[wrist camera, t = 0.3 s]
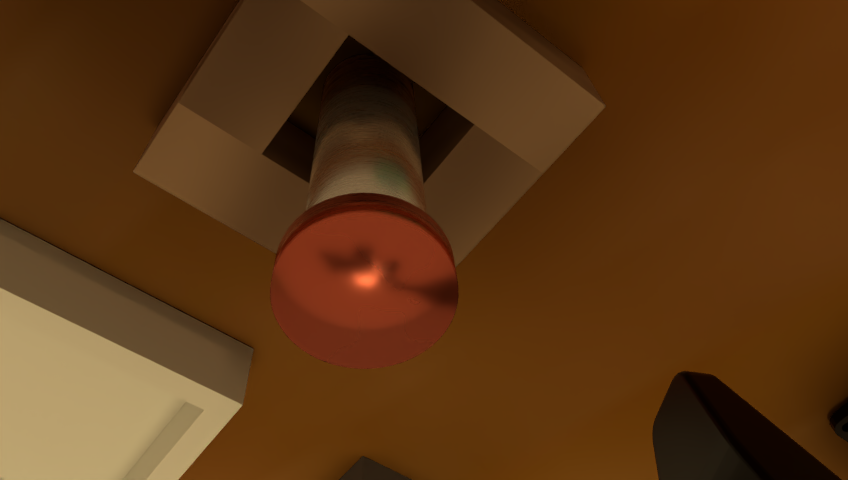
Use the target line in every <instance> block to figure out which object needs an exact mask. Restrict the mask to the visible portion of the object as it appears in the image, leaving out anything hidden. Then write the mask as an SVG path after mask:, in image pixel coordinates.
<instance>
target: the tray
mask: <svg viewBox="0 0 848 480" xmlns="http://www.w3.org/2000/svg"><path fill="white" fill-rule="evenodd" d="M252 355H253V348H251V347H249V346H247V345H245V344H243V343H241V342H239V341H237V340H235V339H233V338H231V337H229V336H227V335H226V334H224V333H222V332H220V331H218V330H216V329H214V328H212V327H210V326H208V325H206V324H204V323H202V322H200V321H198V320H196V319H194V318H192V317H191V316H189V315H187V314H185V313H183V312H181V311H179V310H177V309H175V308H173V307H171V306H169V305H167V304H165V303H163V302H161V301H159V300H158V299H156V298H154V297H152V296H150V295H148V294H146V293H144V292H142V291H140V290H138V289H136V288H134V287H132V286H130V285H128V284H126V283H125V282H123V281H121V280H119V279H117V278H115V277H113V276H111V275H109V274H107V273H105V272H103V271H101V270H99V269H97V268H95V267H93V266H91V265H90V264H88V263H86V262H84V261H82V260H80V259H78V258H76V257H74V256H72V255H70V254H68V253H66V252H64V251H62V250H60V249H58V248H57V247H55V246H53V245H51V244H49V243H47V242H45V241H43V240H41V239H39V238H37V237H35V236H33V235H31V234H29V233H27V232H25V231H24V230H22V229H20V228H18V227H16V226H14V225H12V224H10V223H8V222H6V221H4V220H2V219H0V480H178V479H179V478H180V477H181V476H182V475H183V473H184V472H185V471H186V470H187V469H188V468H189V466H190V465H191V464H192V463H193V462H194V461H195V460H196V458H197V457H198V456H199V455H200V454H201V453H202V451H203V450H204V449H205V448H206V447H207V446H208V444H209V443H210V442H211V441H212V440H213V439H214V438H215V436H216V435H217V434H218V433H219V432H220V431H221V429H222V428H223V427H224V426H225V425H226V424H227V422H228V421H229V420H230V419H231V418H232V417H233V416H234V414H235V413H236V412H237V411H238V410H239V409H240V407H241V406H242V405H243V401H244V396H245V390H246V385H247V380H248V375H249V370H250V365H251V360H252Z"/></svg>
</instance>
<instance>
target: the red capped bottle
mask: <svg viewBox="0 0 848 480" xmlns="http://www.w3.org/2000/svg"><path fill="white" fill-rule="evenodd" d="M270 298H271V305H272V310H273V312H274V315H275V318H276V320H277V322H278V324H279V325H280V327H281V329H282V330H283V331H284V333H285V334H286V335H287V337H288V338H289V339H290V340H291V341H292V342H293V343H294V344H296V345H297V346H298V347H299V348H301V349H302V350H303V351H305V352H307V353H308V354H310V355H311V356H313V357H315V358H318V359H320V360H322V361H325V362H328V363H331V364H334V365H338V366H342V367H349V368H359V369H370V368H381V367H386V366H391V365H395V364H398V363H402V362H404V361H407V360H409V359H411V358H414V357H415V356H417V355H419V354H421V353H422V352H424V351H425V350H427V349H428V348H430V347H431V346H432V345H433V344H434V343H435V342H436V341H438V340H439V338H440V337H441V336H442V335H443V334H444V333H445V331H446V330H447V328H448V327H449V325H450V323H451V321H452V319H453V317H454V315H455V311H456V308H457V303H458V282H457V275H456V268H455V262H454V256H453V251H452V248H451V245H450V243H449V240H448V238H447V236H446V235H445V233H444V231H443V230H442V229H441V227H440V226H439V225H438V223H437V222H436V221H435V220H434V219H433V218H432V217H431V216H430V215H428V214H427V212H426V203H425V193H424V184H423V175H422V166H421V156H420V147H419V138H418V128H417V119H416V110H415V100H414V92H413V87H412V84H411V81H410V79H409V77H407V76H406V75H404V74H403V73H402V72H400V71H399V70H397V69H396V68H395V67H393V66H392V65H390V64H389V63H388V62H386V61H385V60H383V59H382V58H381V57H379V56H378V55H374V54H361V55H356V56H353V57H350V58H347V59H345V60H343V61H342V62H340V63H339V64H338V65H337V66H336V67H334V69H333V70H332V71H331V72H330V74H329V75H328V77H327V79H326V81H325V84H324V87H323V93H322V100H321V107H320V114H319V121H318V128H317V135H316V142H315V149H314V156H313V163H312V170H311V177H310V184H309V191H308V198H307V205H306V211H305V212H303V213H302V214H301V215H300V216H299V217H297V218H296V219H295V221H294V222H293V223H292V224H291V225H290V226H289V228H288V229H287V230H286V232H285V233H284V235H283V237H282V239H281V241H280V243H279V246H278V250H277V253H276V258H275V264H274V269H273V274H272V280H271V287H270Z"/></svg>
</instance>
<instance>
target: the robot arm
mask: <svg viewBox="0 0 848 480" xmlns="http://www.w3.org/2000/svg"><path fill="white" fill-rule="evenodd" d="M829 422H830V425H831V427H832V428H833V430H834V431H835V433H836V434H837V435H838V436H840V437H841V438H843V439H844V440H846V441H847V442H848V403H847V404H846V405H844V406H843V407H842V408H840V409H839V410H838V411H836V412H835V413H834V414H833V415H832V416H831V418H830V420H829ZM653 445H654V451H655V458H656V464H657V470H658V477H659V480H841V479H840V478H839V477H838V476H836V475H835V474H834V473H833V472H832V471H830V470H829V469H828V468H827V467H826V466H824V465H823V464H822V463H821V462H819V461H818V460H817V459H816V458H815V457H813V456H812V455H811V454H810V453H808V452H807V451H806V450H805V449H804V448H802V447H801V446H800V445H799V444H797V443H796V442H795V441H794V440H793V439H791V438H790V437H789V436H788V435H786V434H785V433H784V432H783V431H782V430H780V429H779V428H778V427H777V426H775V425H774V424H773V423H772V422H771V421H769V420H768V419H767V418H766V417H764V416H763V415H762V414H761V413H760V412H758V411H757V410H756V409H755V408H753V407H752V406H751V405H750V404H749V403H747V402H746V401H745V400H744V399H742V398H741V397H740V396H739V395H738V394H736V393H735V392H734V391H733V390H731V389H730V388H729V387H728V386H727V385H725V384H724V383H723V382H722V381H720V380H719V379H718V378H717V377H715V376H713V375H711V374H705V373H697V372H689V371H682V372H680V373H678V374H677V375H676V376H675V377H674V379H673V380H672V382H671V384H670V387H669V389H668V391H667V393H666V396H665V398H664V400H663V402H662V405H661V407H660V409H659V411H658V414H657V416H656V418H655V421H654V425H653Z"/></svg>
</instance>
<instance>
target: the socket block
mask: <svg viewBox="0 0 848 480" xmlns="http://www.w3.org/2000/svg"><path fill="white" fill-rule="evenodd" d="M348 35H350V36H351V37H352V38H354V39H355V40H357V41H358V42H359V43H361V44H362V45H364V46H365V47H367V48H368V49H369V50H371V51H372V52H374V53H375V54H376V55H378V56H379V57H381V58H382V59H383V60H385V61H386V62H388V63H389V64H390V65H392V66H393V67H395V68H396V69H397V70H399V71H400V72H402V73H403V74H404V75H406V76H407V77H409V78H410V79H411V80H413V81H414V82H416V83H417V84H418V85H420V86H421V87H423V88H424V89H425V90H427V91H428V92H430V93H431V94H432V95H434V96H435V97H437V98H438V99H439V100H441V101H442V102H444V103H445V104H446V105H448V106H447V107H446V108H445V109H444V110H443V112H442V113H441V114H440V115H439V116H438V118H437V119H436V120H435V121H434V122H433V124H432V125H431V126H430V127H429V128H428V130H427V131H426V132H425V133H424V134H423V136H422V137H421V138H420V139H419V147H420V156H421V166H422V175H423V184H424V193H425V203H426V212H427V214H428V215H430V216H431V217H432V218H433V219H434V220H435V221H436V222H437V223H438V225H439V226H440V227H441V229H442V230H443V231H444V233H445V235H446V236H447V238H448V240H449V243H450V245H451V248H452V251H453V256H454V262H455V268H456V266H457V265H458V264H459V263H460V262H461V261H462V260H463V259H464V258H465V257H466V256H467V255H468V254H469V253H470V251H471V250H472V249H473V248H474V247H475V246H476V245H477V244H478V243H479V242H480V241H481V240H482V239H483V238H484V236H485V235H486V234H487V233H488V232H489V231H490V230H491V229H492V228H493V227H494V226H495V225H496V224H497V223H498V221H499V220H500V219H501V218H502V217H503V216H504V215H505V214H506V213H507V212H508V211H509V210H510V209H511V208H512V206H513V205H514V204H515V203H516V202H517V201H518V200H519V199H520V198H521V197H522V196H523V195H524V194H525V193H526V191H527V190H528V189H529V188H530V187H531V186H532V185H533V184H534V183H535V182H536V181H537V180H538V179H539V177H540V176H541V175H542V174H543V173H544V172H545V171H546V170H547V169H548V168H549V167H550V166H551V165H552V164H553V162H554V161H555V160H556V159H557V158H558V157H559V156H560V155H561V154H562V153H563V152H564V151H565V150H566V149H567V147H568V146H569V145H570V144H571V143H572V142H573V141H574V140H575V139H576V138H577V137H578V136H579V135H580V134H581V132H582V131H583V130H584V129H585V128H586V127H587V126H588V125H589V124H590V123H591V122H592V121H593V120H594V119H595V117H596V116H597V115H598V114H599V113H600V112H601V111H602V110H603V109H604V108H605V107H606V105H605V104H604V102H603V100H602V99H601V97H600V96H599V94H598V92H597V91H596V89H595V87H594V86H593V84H592V83H591V81H590V79H589V78H588V76H587V74H586V73H585V71H584V70H583V68H582V67H580V66H579V65H578V64H577V63H575V62H574V61H573V60H572V59H570V58H569V57H568V56H567V55H565V54H564V53H563V52H562V51H560V50H559V49H558V48H557V47H555V46H554V45H553V44H552V43H550V42H549V41H548V40H546V39H545V38H544V37H543V36H541V35H540V34H539V33H538V32H536V31H535V30H534V29H533V28H531V27H530V26H529V25H528V24H526V23H525V22H524V21H523V20H521V19H520V18H519V17H518V16H516V15H515V14H514V13H513V12H511V11H510V10H509V9H508V8H506V7H505V6H504V5H503V4H501V3H500V2H499V1H497V0H239V2H238V3H237V5H236V7H235V8H234V10H233V11H232V13H231V14H230V16H229V17H228V19H227V20H226V22H225V24H224V25H223V27H222V28H221V30H220V31H219V33H218V34H217V36H216V37H215V39H214V40H213V42H212V44H211V45H210V47H209V48H208V50H207V51H206V53H205V54H204V56H203V57H202V59H201V61H200V62H199V64H198V65H197V67H196V68H195V70H194V71H193V73H192V74H191V76H190V78H189V79H188V81H187V82H186V84H185V85H184V87H183V88H182V90H181V91H180V93H179V94H178V96H177V98H176V99H175V101H174V102H173V104H172V105H171V107H170V108H169V110H168V111H167V113H166V115H165V116H164V118H163V119H162V121H161V122H160V124H159V125H158V127H157V128H156V130H155V132H154V134H153V136H152V138H151V139H150V141H149V143H148V145H147V147H146V149H145V150H144V152H143V154H142V156H141V158H140V160H139V161H138V163H137V165H136V167H135V169H134V171H133V172H134V173H135V174H137V175H139V176H141V177H142V178H144V179H146V180H148V181H149V182H151V183H153V184H155V185H156V186H158V187H160V188H162V189H163V190H165V191H167V192H169V193H170V194H172V195H174V196H176V197H177V198H179V199H181V200H183V201H184V202H186V203H188V204H190V205H191V206H193V207H195V208H197V209H198V210H200V211H202V212H204V213H205V214H207V215H209V216H211V217H212V218H214V219H216V220H218V221H219V222H221V223H223V224H225V225H226V226H228V227H230V228H232V229H233V230H235V231H237V232H239V233H240V234H242V235H244V236H246V237H247V238H249V239H251V240H253V241H254V242H256V243H258V244H260V245H261V246H263V247H265V248H267V249H269V250H270V251H272V252H274V253H277V250H278V246H279V243H280V241H281V239H282V237H283V235H284V233H285V232H286V230H287V229H288V228H289V226H290V225H291V224H292V223H293V222H294V221H295V219H296V218H297V217H299V216H300V215H301V214H302V213H303V212H305V211H306V205H307V198H308V191H309V184H310V177H311V170H312V163H313V156H314V149H315V142H316V139H314V138H312V137H311V136H309V135H308V134H306V133H305V132H303V131H302V130H300V129H299V128H297V127H295V126H294V125H292V124H291V123H289V122H288V121H286V120H287V119H288V117H289V116H290V114H291V113H292V112H293V110H294V109H295V108H296V106H297V105H298V103H299V102H300V101H301V99H302V98H303V97H304V95H305V94H306V93H307V91H308V90H309V88H310V87H311V86H312V84H313V83H314V82H315V80H316V79H317V77H318V76H319V75H320V73H321V72H322V71H323V69H324V68H325V67H326V65H327V64H328V62H329V61H330V60H331V58H332V57H333V56H334V54H335V53H336V51H337V50H338V49H339V47H340V46H341V45H342V43H343V42H344V40H345V39H346V38H347V36H348Z"/></svg>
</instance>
